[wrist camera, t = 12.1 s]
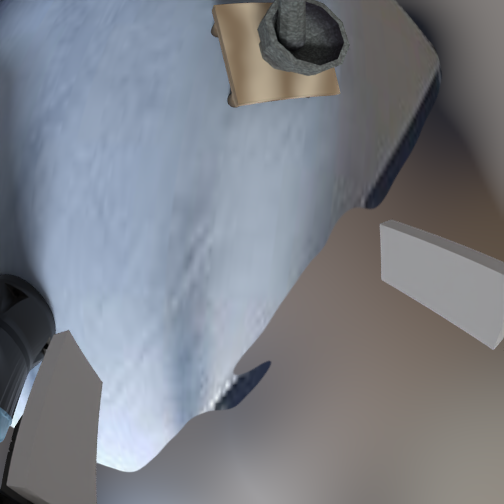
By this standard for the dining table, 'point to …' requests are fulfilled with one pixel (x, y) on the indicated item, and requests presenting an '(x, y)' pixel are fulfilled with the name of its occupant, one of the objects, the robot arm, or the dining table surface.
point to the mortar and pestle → (302, 37)
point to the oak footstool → (259, 60)
